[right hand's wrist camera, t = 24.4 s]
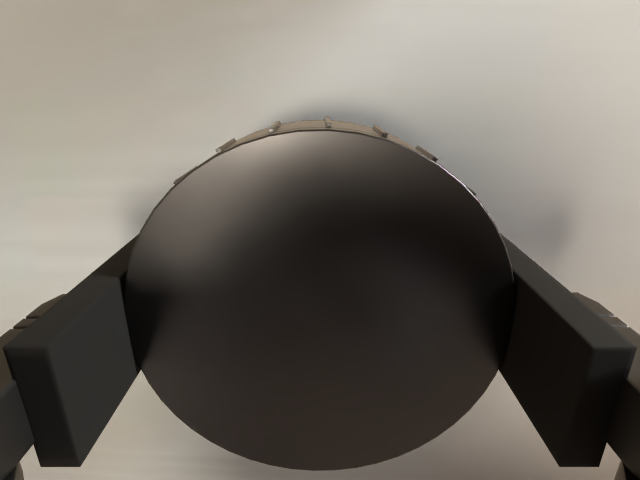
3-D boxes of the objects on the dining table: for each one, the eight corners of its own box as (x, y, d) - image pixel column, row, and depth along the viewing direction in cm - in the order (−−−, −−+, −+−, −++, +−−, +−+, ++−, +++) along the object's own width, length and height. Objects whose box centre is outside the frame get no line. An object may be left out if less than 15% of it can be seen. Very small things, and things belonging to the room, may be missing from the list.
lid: (87, 249, 12) (35, 286, 9) (367, 36, 10) (380, 23, 8) (287, 454, 14) (281, 518, 12) (537, 318, 12) (582, 367, 10)
